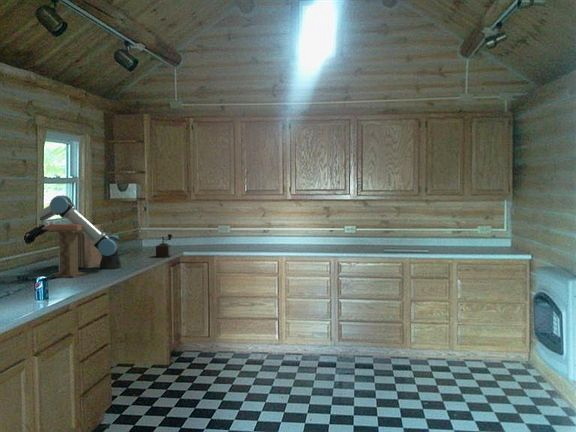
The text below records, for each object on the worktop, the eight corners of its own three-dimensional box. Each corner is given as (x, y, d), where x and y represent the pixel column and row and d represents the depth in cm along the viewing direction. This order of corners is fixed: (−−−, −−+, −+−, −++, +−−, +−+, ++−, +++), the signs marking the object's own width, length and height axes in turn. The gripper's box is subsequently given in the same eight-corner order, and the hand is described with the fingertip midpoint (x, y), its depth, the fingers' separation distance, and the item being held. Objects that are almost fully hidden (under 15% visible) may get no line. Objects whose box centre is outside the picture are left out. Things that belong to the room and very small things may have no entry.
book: (84, 268, 410) (84, 226, 408) (73, 268, 412) (72, 226, 410) (104, 263, 434) (103, 223, 433) (92, 263, 437) (92, 223, 435)
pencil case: (39, 229, 382) (39, 224, 381) (43, 228, 386) (43, 223, 386) (77, 230, 372) (77, 225, 372) (81, 230, 377) (81, 224, 376)
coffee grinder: (169, 257, 470) (168, 235, 469) (155, 257, 470) (155, 235, 469) (173, 255, 485) (173, 233, 484) (160, 255, 486) (159, 233, 484)
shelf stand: (51, 276, 376) (50, 230, 374) (65, 273, 388) (64, 228, 386) (73, 278, 370) (72, 231, 368) (86, 274, 383) (85, 229, 381)
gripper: (38, 242, 396) (62, 226, 389) (19, 245, 379) (44, 228, 372) (33, 233, 397) (57, 216, 390) (14, 235, 380) (39, 218, 373)
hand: (51, 222), depth 381 cm, fingers closed on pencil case, 4 cm apart
